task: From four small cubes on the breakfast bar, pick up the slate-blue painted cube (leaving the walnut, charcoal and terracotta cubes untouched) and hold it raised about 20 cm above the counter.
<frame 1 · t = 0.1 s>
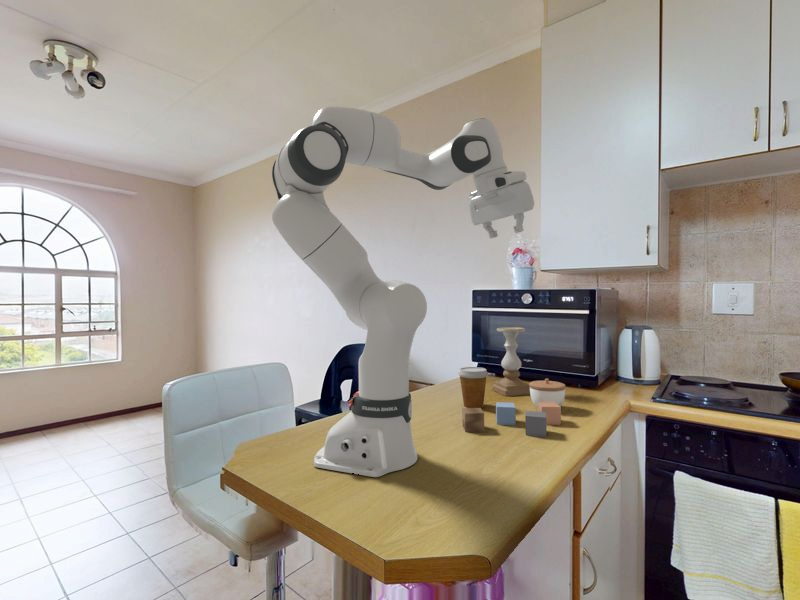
hand: (506, 235, 104), 52 cm above the counter, tool tilted 20°, fingers open, 8 cm apart
charcoal cube: (536, 433, 100), on the counter
candle holder: (511, 392, 145), on the counter
terracotta cube: (549, 422, 109), on the counter
lidded jar: (547, 409, 123), on the counter
disposable coffee cup: (473, 406, 127), on the counter
walnut cube: (473, 429, 105), on the counter
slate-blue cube: (505, 422, 110), on the counter
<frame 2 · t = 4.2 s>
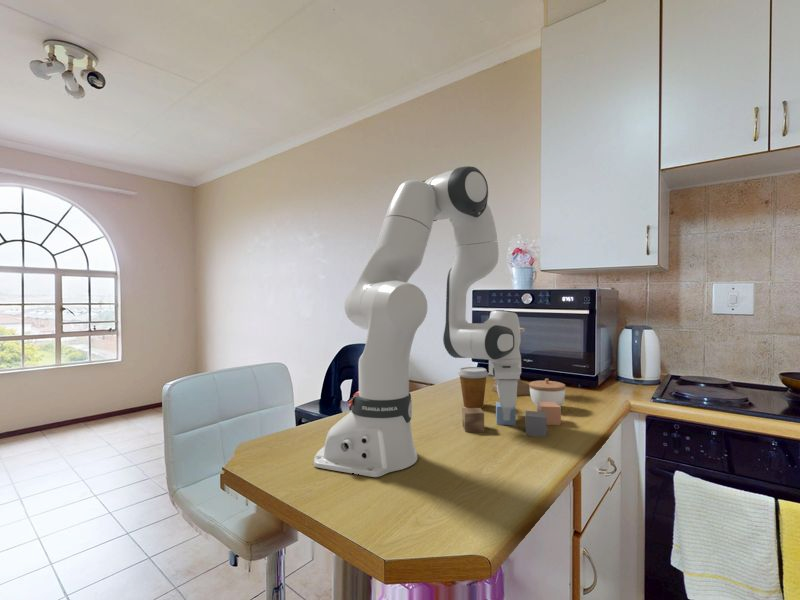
hand: (505, 416, 110), 2 cm above the counter, tool pointing down, fingers closed on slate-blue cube, 5 cm apart
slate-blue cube: (505, 422, 110), on the counter, touching gripper
everything else where it was.
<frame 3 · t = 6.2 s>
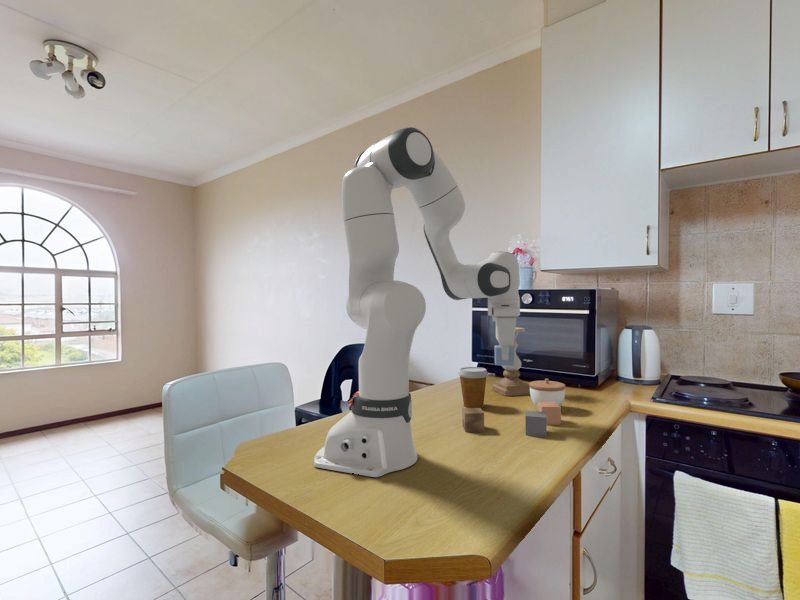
hand: (504, 358, 110), 18 cm above the counter, tool pointing down, fingers closed on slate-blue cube, 5 cm apart
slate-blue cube: (504, 364, 110), point 16 cm above the counter, touching gripper
everything else where it was.
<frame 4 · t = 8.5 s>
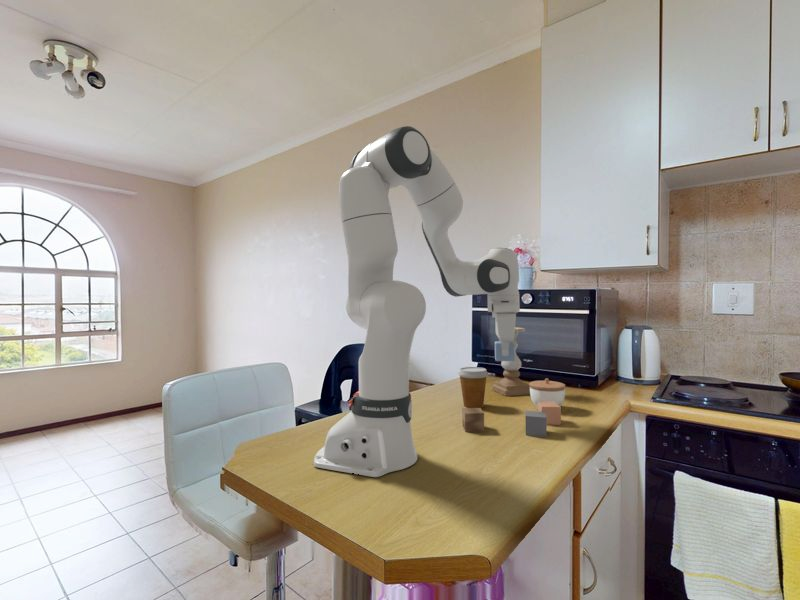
hand: (504, 354, 111), 19 cm above the counter, tool pointing down, fingers closed on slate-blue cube, 5 cm apart
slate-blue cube: (504, 359, 111), point 17 cm above the counter, touching gripper
everything else where it was.
at the end: the gripper is holding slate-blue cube; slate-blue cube point 17.4 cm above the counter; charcoal cube moved 0.1 cm from its start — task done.
